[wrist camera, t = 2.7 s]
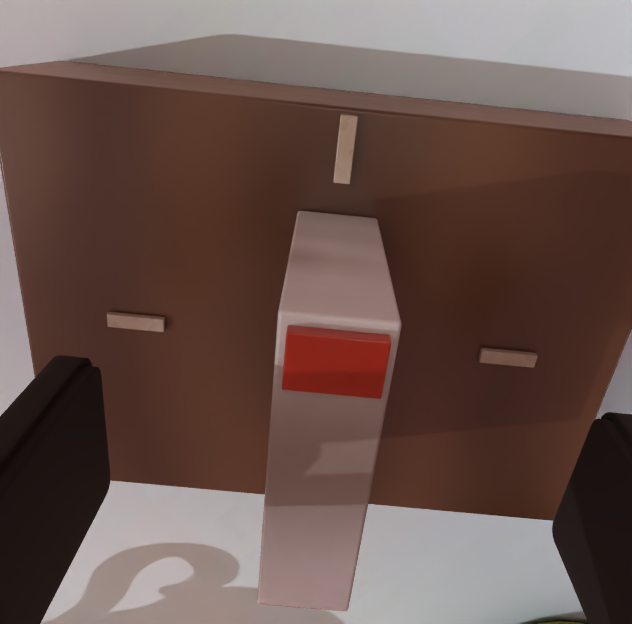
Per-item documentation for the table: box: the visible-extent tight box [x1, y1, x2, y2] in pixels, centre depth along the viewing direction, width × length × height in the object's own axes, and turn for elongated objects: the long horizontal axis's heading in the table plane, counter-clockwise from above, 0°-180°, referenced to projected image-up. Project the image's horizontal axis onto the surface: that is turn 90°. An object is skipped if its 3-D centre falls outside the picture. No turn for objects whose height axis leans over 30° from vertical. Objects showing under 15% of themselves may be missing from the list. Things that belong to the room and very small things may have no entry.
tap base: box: [0, 61, 632, 520], centre depth 15 cm, size 15×11×4 cm
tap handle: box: [257, 211, 402, 611], centre depth 12 cm, size 6×2×5 cm, turn 174°
